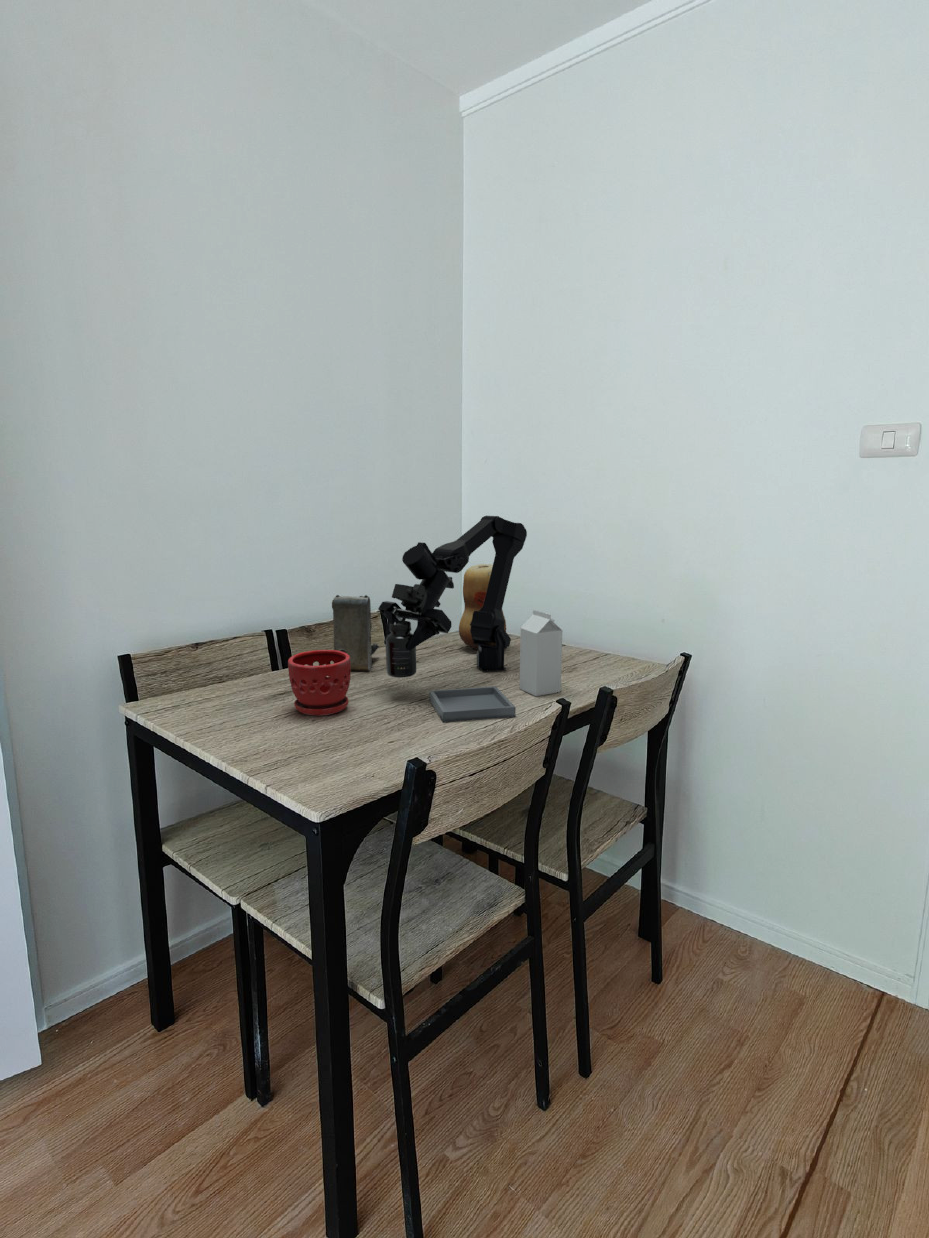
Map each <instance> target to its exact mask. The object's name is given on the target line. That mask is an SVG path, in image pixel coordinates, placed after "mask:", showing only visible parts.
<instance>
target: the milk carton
mask: <svg viewBox="0 0 929 1238" xmlns="http://www.w3.org/2000/svg"><path fill="white" fill-rule="evenodd" d="M519 639H520V640H519V641H520V644H519V645H520V646H519V647H520V648H519V650H520V651H519V653H520V655H519V689H520V690H521V691H524V692H526V693H528V694H530V695H532V696H534V697H538V696H545V695H552V694H557V692H558V693H561V692H560V691H562V661H563V657H562V656H563V629H562V628H560V626H558V625H557V624H556V623H555V619H554V618H553V617H552V616H551V614H550V613H546V612H542V611H539V610H536V609H533V610H532V615H531V616H530V617H529V618H528V619H527V620H526V621H525V622H524V623H523V624H522V625H521V627H520V638H519Z"/></svg>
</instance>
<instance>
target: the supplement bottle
mask: <svg viewBox="0 0 929 1238" xmlns="http://www.w3.org/2000/svg"><path fill="white" fill-rule="evenodd" d="M411 625H412V623H411V621H409V620H405V621H393V622H390V624H389V626H390V629H389V631H390V632H391V633H390V634H389V635H387V637H386V645H385V659H386V660H385V661H386V662H385V665H386V674H387V675H388V676H389V677H392V678H403V679H404V678H410V677H412V676H414V675H416V673H417V646H416V647H415V648H413V649H412V650H408V649H407V645H408V643H409V641H410V639H411V637H412V635H413V633H412V632H411V631H412V626H411Z"/></svg>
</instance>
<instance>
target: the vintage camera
mask: <svg viewBox="0 0 929 1238" xmlns="http://www.w3.org/2000/svg"><path fill="white" fill-rule="evenodd" d="M371 607H372V606H371V598H370V596H368V595H367V594H365V595H364V596H363V595H359V596H350V595H349V596H348V595H339V594H337V595H336V596H334V597H333V599H332V602H331V609H332V618H333V619H332V624H333V650H337V651H342V652H344V653H347V654H348V655H349V656H350V664H351V672H352V671H353V672H356V671H359V672H361V671H363V672H368V671H371V670H372V656H373V654H375V653H376V651H377V650H378V649H379V648H380V645H378V643H375V642H373V644H372V635H371V634H372V621H371V620H372V611H371V610H372V609H371Z"/></svg>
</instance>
